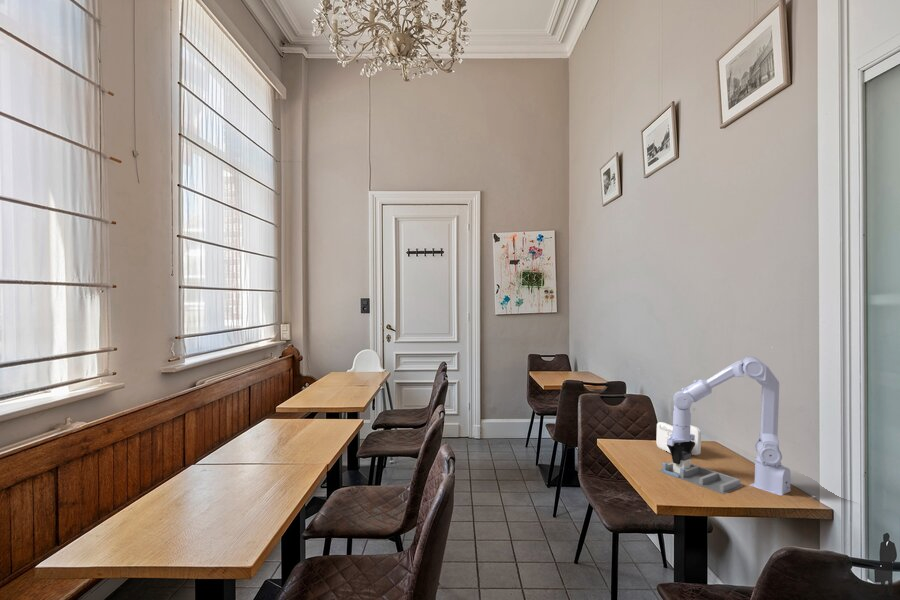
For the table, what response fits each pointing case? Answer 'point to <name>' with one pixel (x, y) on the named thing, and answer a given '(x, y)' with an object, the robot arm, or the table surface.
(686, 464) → the white upright block
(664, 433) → the cable organizer
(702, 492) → the table surface
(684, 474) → the parts fixture tray
